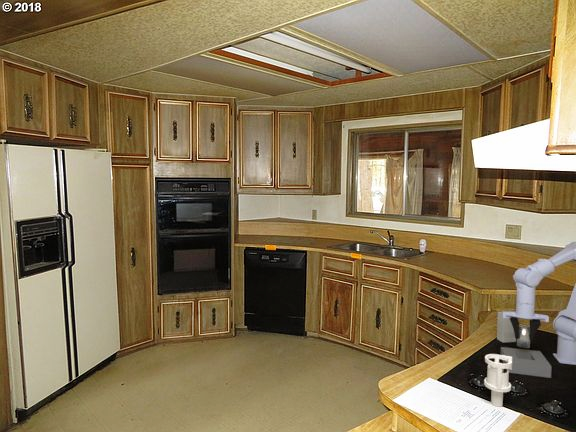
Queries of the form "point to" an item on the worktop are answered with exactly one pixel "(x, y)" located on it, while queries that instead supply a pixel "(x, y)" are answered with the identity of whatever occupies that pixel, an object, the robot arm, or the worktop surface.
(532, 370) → the socket block
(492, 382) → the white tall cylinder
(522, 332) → the peg
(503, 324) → the skincare box
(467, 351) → the worktop surface
